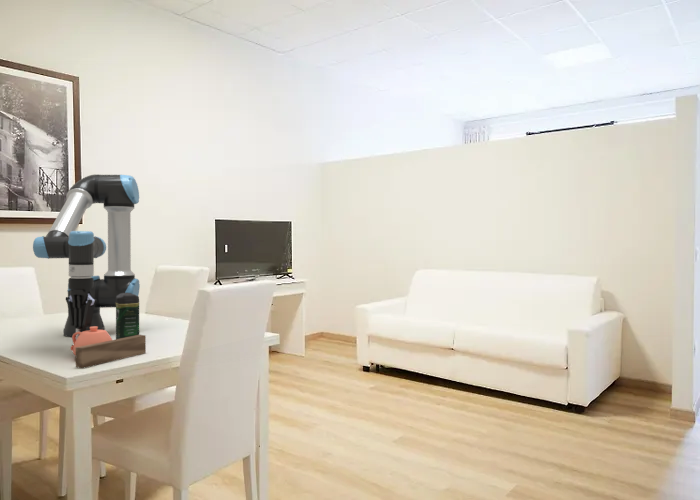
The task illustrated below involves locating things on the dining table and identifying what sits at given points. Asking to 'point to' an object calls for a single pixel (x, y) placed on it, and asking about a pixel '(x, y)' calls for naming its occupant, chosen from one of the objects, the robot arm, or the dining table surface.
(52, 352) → the dining table surface
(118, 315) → the coffee jar
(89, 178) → the robot arm
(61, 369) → the dining table surface
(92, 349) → the board
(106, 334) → the sugar bowl
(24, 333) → the dining table surface
